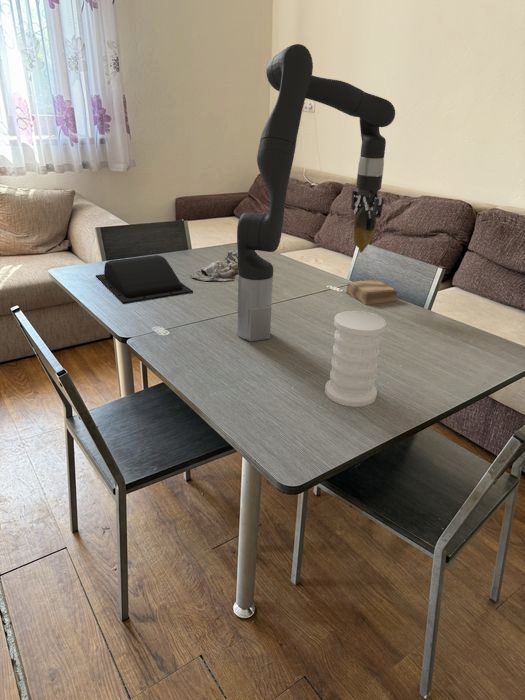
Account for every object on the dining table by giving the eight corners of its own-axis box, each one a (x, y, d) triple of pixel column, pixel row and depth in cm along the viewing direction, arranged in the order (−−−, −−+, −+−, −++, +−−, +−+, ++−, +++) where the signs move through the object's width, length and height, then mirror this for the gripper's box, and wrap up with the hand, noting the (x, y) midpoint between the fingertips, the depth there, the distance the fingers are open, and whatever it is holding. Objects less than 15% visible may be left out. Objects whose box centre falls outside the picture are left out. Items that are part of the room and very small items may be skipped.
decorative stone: (362, 248, 171) (367, 202, 165) (377, 252, 168) (383, 205, 161) (343, 253, 166) (348, 206, 159) (358, 257, 162) (364, 209, 155)
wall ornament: (275, 252, 192) (205, 252, 175) (274, 279, 195) (205, 282, 178) (248, 248, 207) (180, 248, 190) (247, 273, 209) (180, 276, 193)
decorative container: (374, 410, 110) (386, 334, 102) (320, 401, 112) (328, 326, 105) (378, 385, 120) (389, 314, 112) (329, 377, 123) (336, 307, 115)
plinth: (395, 301, 173) (397, 289, 171) (365, 304, 168) (366, 293, 167) (375, 289, 183) (376, 278, 181) (346, 292, 178) (347, 281, 177)
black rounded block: (95, 278, 183) (123, 305, 161) (93, 255, 179) (121, 279, 157) (159, 270, 195) (193, 294, 172) (158, 248, 191) (192, 269, 169)
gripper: (346, 169, 159) (341, 223, 167) (373, 177, 148) (366, 234, 156) (367, 169, 162) (360, 221, 170) (394, 176, 151) (386, 232, 158)
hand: (363, 227), depth 163 cm, fingers closed on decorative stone, 6 cm apart
